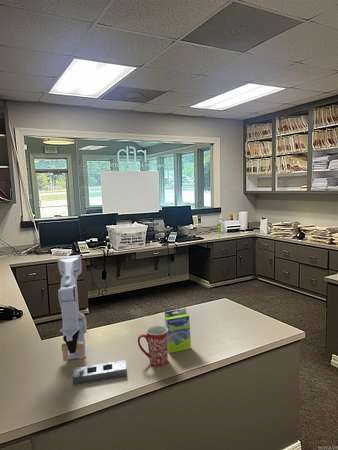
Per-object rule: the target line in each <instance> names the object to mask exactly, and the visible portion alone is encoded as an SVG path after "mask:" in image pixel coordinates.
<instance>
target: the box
mask: <svg viewBox="0 0 338 450" xmlns="http://www.w3.org/2000/svg"><path fill="white" fill-rule="evenodd" d="M176 312H177V313H176ZM164 322H165V323H164V324H165V326H164V327H166V328H168V354H171V353H176V352H180V351H181V352H182V351H186V350H189V349H191V350H192V344H191V343H192V341H191V325H190V324H191V323H190V322H191V321H190V314H188V313H187V308H185V307H184V308H180V309H179V308H178V309H175V310H169V311H168V310H167V311H164Z"/></svg>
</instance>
